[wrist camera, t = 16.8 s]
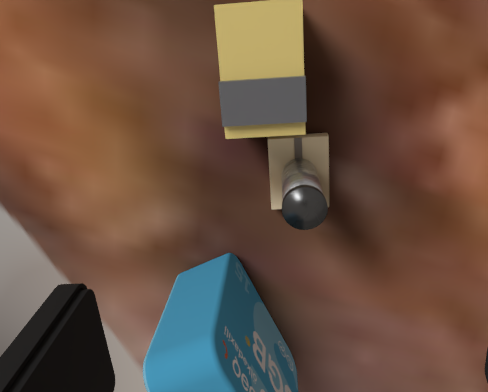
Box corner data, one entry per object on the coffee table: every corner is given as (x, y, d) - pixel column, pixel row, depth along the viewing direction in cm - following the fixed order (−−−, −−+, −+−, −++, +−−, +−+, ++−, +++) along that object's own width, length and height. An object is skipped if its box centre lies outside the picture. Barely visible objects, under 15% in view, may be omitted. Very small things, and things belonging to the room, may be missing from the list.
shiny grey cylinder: (279, 159, 30) (280, 189, 24) (317, 156, 30) (326, 186, 24) (282, 194, 31) (283, 231, 25) (318, 191, 31) (328, 228, 25)
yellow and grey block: (224, 9, 28) (211, 4, 23) (298, 3, 28) (303, -3, 22) (233, 120, 31) (223, 141, 25) (301, 116, 30) (307, 136, 25)
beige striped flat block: (267, 136, 31) (267, 139, 30) (327, 132, 30) (328, 136, 29) (271, 204, 32) (271, 210, 31) (327, 201, 32) (329, 207, 31)
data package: (297, 361, 37) (306, 506, 26) (248, 379, 38) (237, 525, 27) (231, 243, 34) (209, 351, 23) (179, 266, 35) (134, 379, 24)
